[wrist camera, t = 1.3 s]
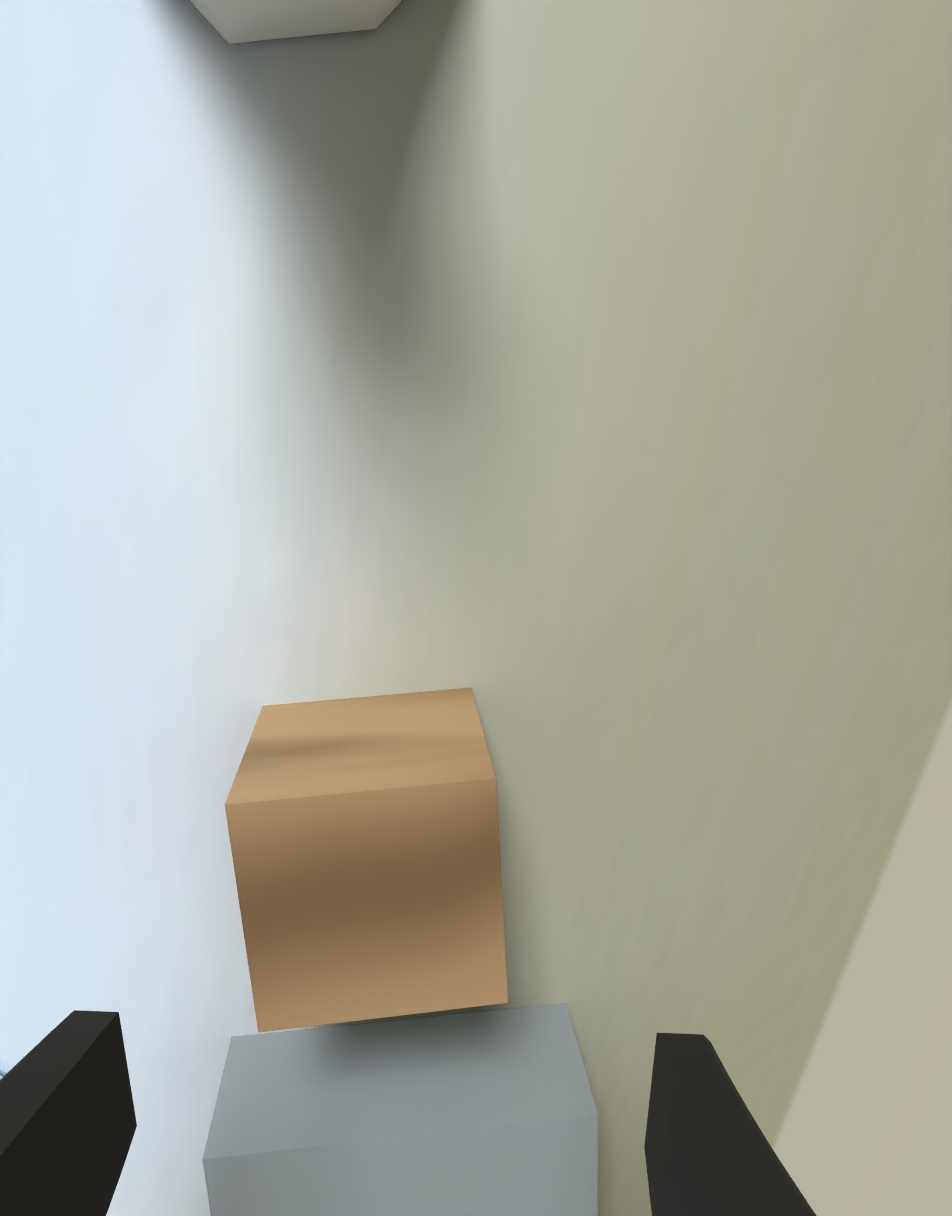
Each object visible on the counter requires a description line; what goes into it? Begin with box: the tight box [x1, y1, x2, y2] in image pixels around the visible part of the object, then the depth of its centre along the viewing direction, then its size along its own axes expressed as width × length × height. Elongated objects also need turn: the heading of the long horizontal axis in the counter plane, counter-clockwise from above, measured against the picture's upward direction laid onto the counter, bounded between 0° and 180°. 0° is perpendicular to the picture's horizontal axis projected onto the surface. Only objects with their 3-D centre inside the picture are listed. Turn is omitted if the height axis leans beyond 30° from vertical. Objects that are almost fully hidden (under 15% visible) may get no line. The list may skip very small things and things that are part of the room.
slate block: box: [203, 1003, 598, 1216], centre depth 23 cm, size 9×9×4 cm
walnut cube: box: [225, 688, 508, 1032], centre depth 19 cm, size 5×5×5 cm
